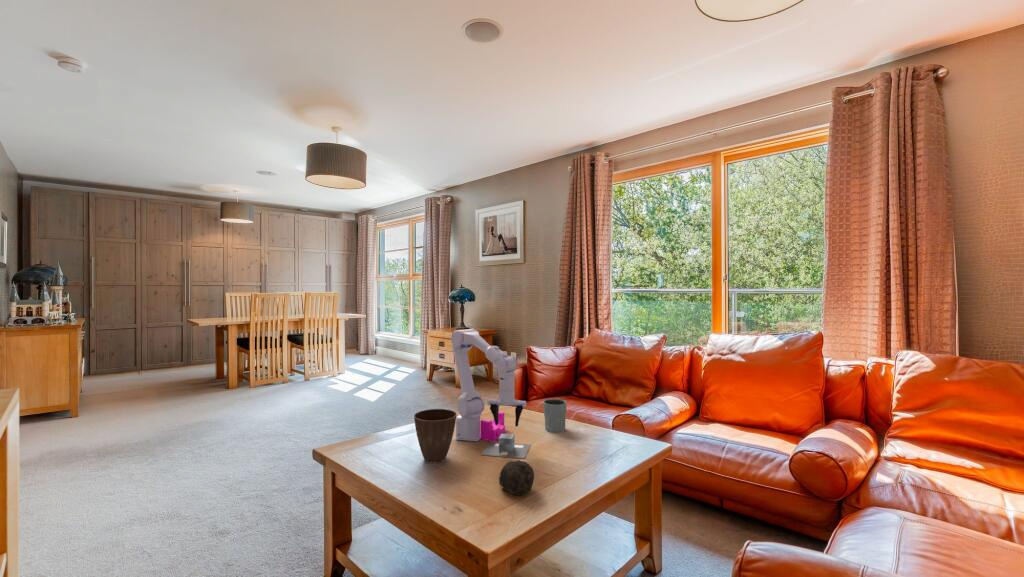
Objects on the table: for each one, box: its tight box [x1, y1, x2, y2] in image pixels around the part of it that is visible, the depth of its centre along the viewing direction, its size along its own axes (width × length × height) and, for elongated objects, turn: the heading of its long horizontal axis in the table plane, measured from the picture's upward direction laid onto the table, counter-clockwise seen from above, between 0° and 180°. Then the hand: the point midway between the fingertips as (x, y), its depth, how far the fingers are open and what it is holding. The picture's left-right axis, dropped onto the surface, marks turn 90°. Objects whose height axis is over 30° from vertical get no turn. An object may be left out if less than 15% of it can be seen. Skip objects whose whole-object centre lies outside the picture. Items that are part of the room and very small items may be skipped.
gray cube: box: [498, 433, 516, 452], centre depth 167 cm, size 5×5×5 cm
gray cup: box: [542, 398, 568, 434], centre depth 192 cm, size 10×10×12 cm
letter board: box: [481, 441, 532, 460], centre depth 167 cm, size 16×14×1 cm
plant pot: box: [413, 408, 457, 464], centre depth 158 cm, size 15×15×16 cm
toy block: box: [480, 411, 506, 442], centre depth 185 cm, size 15×6×8 cm, turn 156°
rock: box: [498, 459, 535, 496], centre depth 134 cm, size 10×11×10 cm
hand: (506, 425), depth 167 cm, fingers open, 7 cm apart
